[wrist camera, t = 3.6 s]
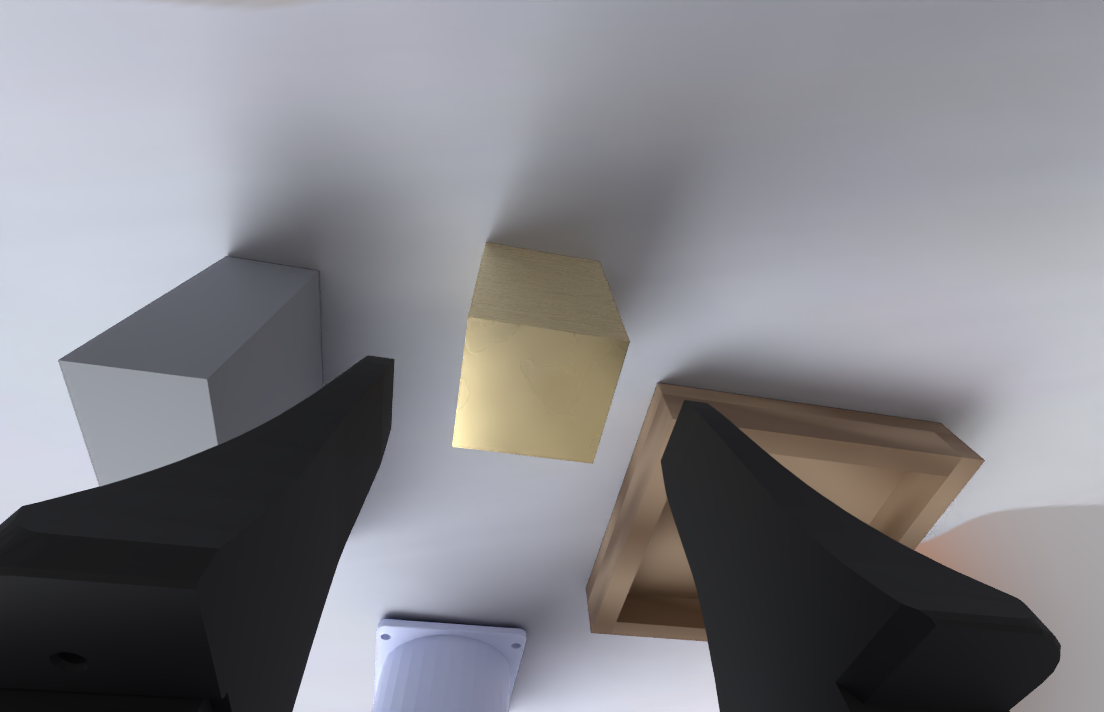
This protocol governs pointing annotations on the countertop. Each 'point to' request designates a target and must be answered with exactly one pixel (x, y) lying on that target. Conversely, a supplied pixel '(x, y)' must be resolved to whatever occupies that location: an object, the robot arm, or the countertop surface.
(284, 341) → the wall unit
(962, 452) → the tray
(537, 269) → the brass block
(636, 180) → the countertop surface
